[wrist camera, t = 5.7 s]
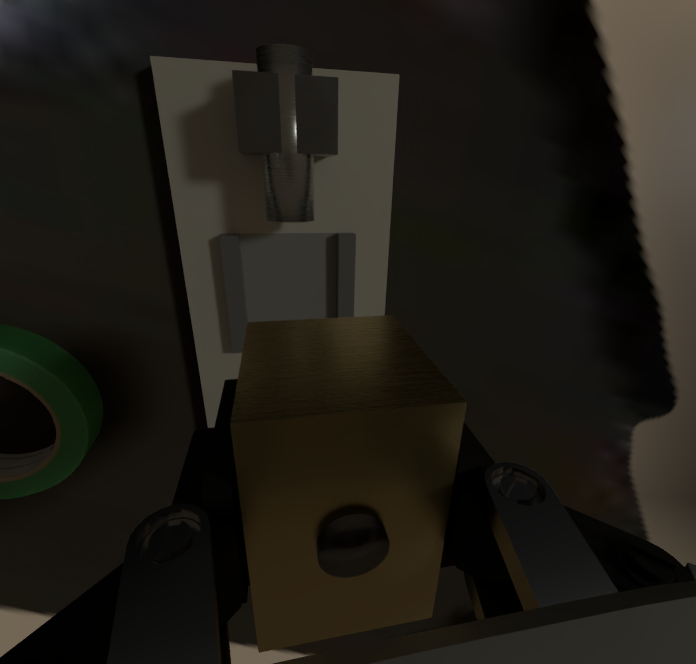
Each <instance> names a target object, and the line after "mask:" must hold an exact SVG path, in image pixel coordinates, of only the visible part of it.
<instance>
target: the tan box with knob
mask: <svg viewBox="0 0 696 664" xmlns="http://www.w3.org/2000/svg"><path fill="white" fill-rule="evenodd" d="M466 405H467V401H466V400H465V399H464V398H463V396H462V395H461V394H460V393H459V392H458V391H457V389H456V388H455V387H454V386H453V385H452V384H451V383H450V381H449V380H448V379H447V378H446V377H445V376H444V374H443V373H442V372H441V371H440V370H439V369H438V368H437V366H436V365H435V364H434V363H433V362H432V361H431V359H430V358H429V357H428V356H427V355H426V354H425V353H424V351H423V350H422V349H421V348H420V347H419V346H418V344H417V343H416V342H415V341H414V340H413V339H412V338H411V336H410V335H409V334H408V333H407V332H406V331H405V329H404V328H403V327H402V326H401V325H400V324H399V323H398V321H397V320H396V319H395V318H394V317H393V316H392V315H384V316H363V317H343V318H323V319H302V320H282V321H261V322H247V328H246V334H245V340H244V346H243V352H242V357H241V363H240V369H239V375H238V381H237V387H236V393H235V398H234V404H233V410H232V416H231V422H230V428H231V435H232V443H233V451H234V459H235V467H236V475H237V483H238V491H239V499H240V507H241V515H242V523H243V531H244V539H245V547H246V555H247V563H248V571H249V578H250V586H251V594H252V602H253V610H254V618H255V626H256V634H257V642H258V650H259V652H264V651H269V650H273V649H278V648H283V647H288V646H293V645H298V644H303V643H308V642H313V641H318V640H323V639H328V638H333V637H338V636H342V635H347V634H352V633H357V632H362V631H367V630H372V629H377V628H382V627H387V626H392V625H397V624H402V623H407V622H412V621H416V620H421V619H426V618H431V617H432V613H433V607H434V601H435V595H436V589H437V583H438V576H439V570H440V564H441V558H442V552H443V546H444V540H445V534H446V527H447V521H448V515H449V509H450V503H451V497H452V491H453V485H454V478H455V472H456V466H457V460H458V454H459V448H460V442H461V435H462V429H463V423H464V417H465V411H466Z"/></svg>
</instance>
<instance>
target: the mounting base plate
mask: <svg viewBox="0 0 696 664" xmlns="http://www.w3.org/2000/svg"><path fill="white" fill-rule="evenodd" d="M150 60H151V66H152V72H153V79H154V85H155V92H156V98H157V104H158V111H159V117H160V124H161V130H162V136H163V143H164V149H165V156H166V162H167V168H168V175H169V181H170V188H171V194H172V200H173V207H174V213H175V220H176V226H177V233H178V239H179V245H180V252H181V258H182V265H183V271H184V277H185V284H186V290H187V297H188V303H189V309H190V316H191V322H192V329H193V335H194V341H195V348H196V354H197V361H198V367H199V373H200V380H201V386H202V393H203V399H204V406H205V412H206V418H207V425H208V428H213V427H214V426H215V422H216V418H217V413H218V409H219V404H220V400H221V395H222V391H223V386H224V382H225V380H229V379H238V375H239V369H240V363H241V357H242V352H243V346H244V340H245V334H246V328H247V322H261V321H282V320H302V319H323V318H343V317H363V316H384V315H385V299H386V283H387V267H388V250H389V234H390V218H391V202H392V186H393V169H394V153H395V137H396V121H397V105H398V89H399V74H385V73H372V72H358V71H345V70H331V69H318V68H312V75H313V76H327V77H338V155H335V156H331V157H314V221H310V222H273V221H268V220H267V217H266V201H265V185H264V170H263V155H243V154H241V153H240V152H239V148H238V137H237V125H236V113H235V102H234V90H233V78H232V70H242V71H256V72H257V64H250V63H237V62H223V61H210V60H196V59H183V58H170V57H156V56H150Z"/></svg>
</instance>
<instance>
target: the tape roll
mask: <svg viewBox="0 0 696 664" xmlns="http://www.w3.org/2000/svg"><path fill="white" fill-rule="evenodd" d="M0 376H2V377H5V379H8V380H10V381H12V382H15V383H17V384H19V385H20V386H22V387H23V388H25V389H27V390H28V391H30V392H31V393H32V394H33V395H34V396H35V397H37V398H38V399H39V400H40V401H41V402H42V403H43V404H44V405H45V406H46V408H47V410H48V411H49V412H50V414H51V416H52V418H53V421H54V424H55V427H56V440H55V444H53V445H51V446H49V447H47V448H45V449H42V450H39V451H35V452H31V453H25V454H1V453H0V499H12V498H18V497H23V496H27V495H30V494H34V493H37V492H40V491H43V490H46V489H48V488H51V487H53V486H55V485H56V484H58V483H60V482H61V481H63V480H64V479H65V478H67V477H68V476H69V475H70V474H71V473H72V472H73V471H74V470H75V469H76V468H77V467H78V466H79V464H80V463H81V461H82V460H83V458H84V457H85V455H86V454H87V452H88V450H89V449H90V447H91V446H92V444H93V443H94V441H95V439H96V438H97V436H98V434H99V431H100V429H101V426H102V422H103V402H102V397H101V394H100V392H99V389H98V387H97V385H96V383H95V381H94V379H93V378H92V376H91V375H90V374H89V372H88V371H87V370H86V368H85V367H84V366H83V365H82V364H81V363H80V362H79V361H78V360H77V359H76V358H75V357H74V356H72V355H71V354H70V353H69V352H67V351H66V350H65V349H63V348H62V347H60V346H59V345H57V344H55V343H54V342H52V341H50V340H48V339H46V338H44V337H42V336H40V335H37V334H35V333H32V332H30V331H27V330H24V329H20V328H17V327H13V326H9V325H3V324H0Z"/></svg>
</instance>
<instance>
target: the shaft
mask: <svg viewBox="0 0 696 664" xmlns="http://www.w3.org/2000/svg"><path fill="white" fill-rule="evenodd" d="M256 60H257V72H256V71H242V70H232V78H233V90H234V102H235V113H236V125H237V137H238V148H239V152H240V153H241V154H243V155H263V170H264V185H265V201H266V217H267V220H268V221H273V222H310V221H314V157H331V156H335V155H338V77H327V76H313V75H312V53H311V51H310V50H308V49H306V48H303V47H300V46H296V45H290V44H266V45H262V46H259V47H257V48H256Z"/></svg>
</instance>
